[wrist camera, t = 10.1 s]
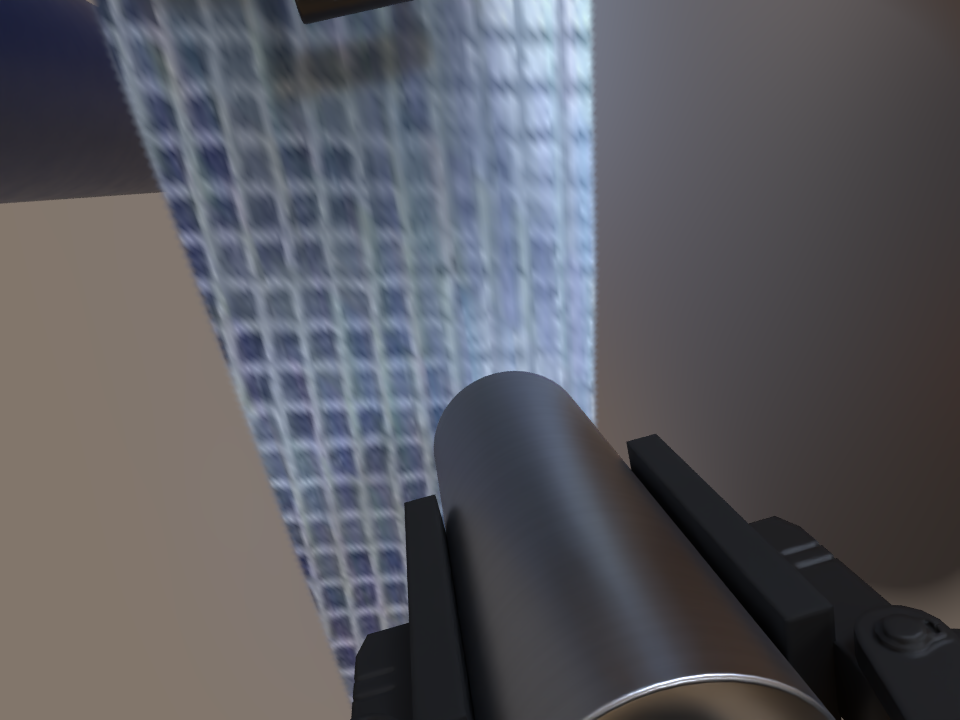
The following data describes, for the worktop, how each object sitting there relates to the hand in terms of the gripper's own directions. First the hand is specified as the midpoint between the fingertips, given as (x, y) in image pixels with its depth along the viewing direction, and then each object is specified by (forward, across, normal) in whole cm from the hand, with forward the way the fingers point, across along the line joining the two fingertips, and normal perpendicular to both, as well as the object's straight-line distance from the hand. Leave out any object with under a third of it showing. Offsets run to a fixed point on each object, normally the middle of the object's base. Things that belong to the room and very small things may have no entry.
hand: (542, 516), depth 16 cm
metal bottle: (+5, 0, 0) cm, 5 cm away
